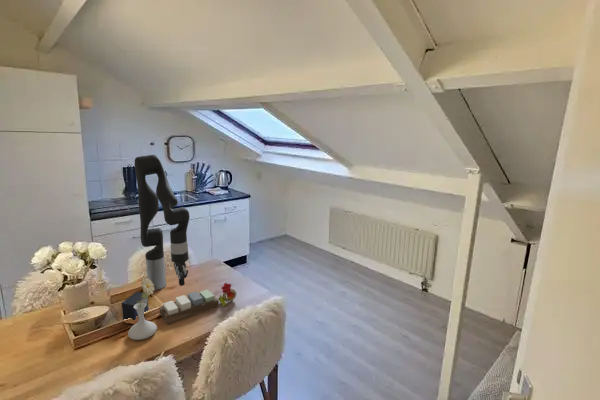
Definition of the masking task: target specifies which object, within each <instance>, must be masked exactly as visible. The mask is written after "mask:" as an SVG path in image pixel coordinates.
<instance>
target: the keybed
mask: <svg viewBox="0 0 600 400" xmlns="http://www.w3.org/2000/svg"><path fill="white" fill-rule="evenodd" d="M218 299H219V298H217V297H216V296H215V300H213V301H210V302H207V303H206V302H205V301H204V300H203V304H202V305H199V306H196V307H194V306H193V305H192V304H191V308H190V309H187V310H184V311H181V310H180V309H179V307H178V306H177V305H176V306H177V307H178V313H175V314H172V315H169V316H168V314H167V313H166V312H165V310H164V309H163V305H161V306H159V315H160V314H161V315H160V316H161V318H162V320H163V321H164V322H165V324H166V326H169V325H173V324H175V323H178V322H181V321H184V320H187V319H189V318H192V317H196V316H198V315H201V314H204V313H206V312H210V311H213V310H215V309H217V308H219V307H220V304H219V302H220V301H219V300H218ZM173 302H174V303H175V304H176V301H173Z"/></svg>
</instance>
